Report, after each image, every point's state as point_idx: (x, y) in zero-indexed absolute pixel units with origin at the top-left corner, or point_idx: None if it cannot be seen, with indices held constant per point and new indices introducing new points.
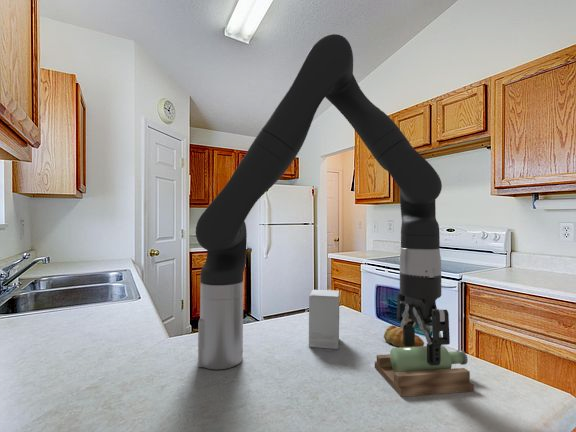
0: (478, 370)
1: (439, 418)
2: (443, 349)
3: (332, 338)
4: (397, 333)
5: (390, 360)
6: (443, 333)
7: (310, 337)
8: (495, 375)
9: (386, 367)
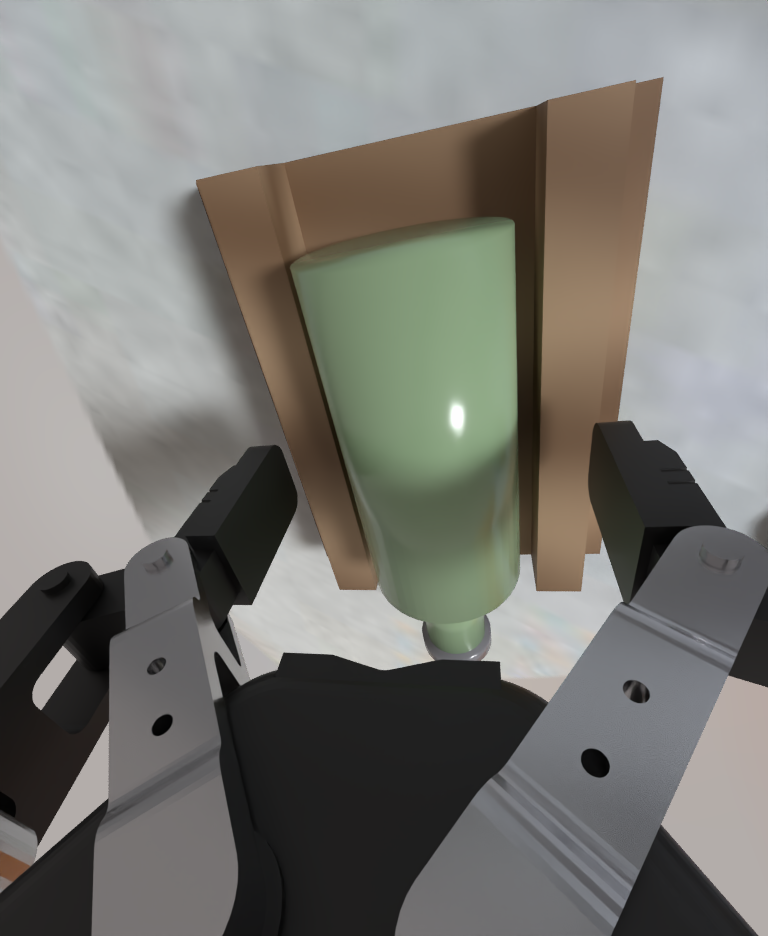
0: (498, 629)
1: (90, 314)
2: (406, 602)
3: None
4: None
5: (501, 218)
6: (94, 699)
7: None
8: None
9: (524, 177)
